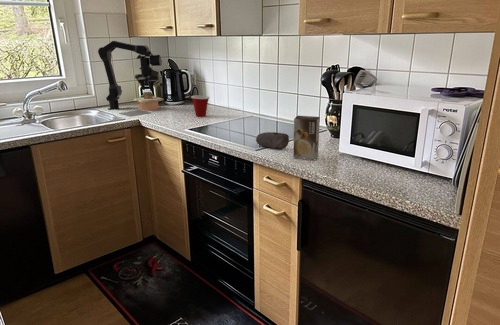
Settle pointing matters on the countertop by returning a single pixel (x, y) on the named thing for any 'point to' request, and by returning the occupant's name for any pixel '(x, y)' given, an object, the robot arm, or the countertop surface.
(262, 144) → the perforated stone tool
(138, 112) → the mat
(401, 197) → the countertop surface
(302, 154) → the coffee box
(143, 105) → the bowl
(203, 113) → the plastic cup
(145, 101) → the lid
